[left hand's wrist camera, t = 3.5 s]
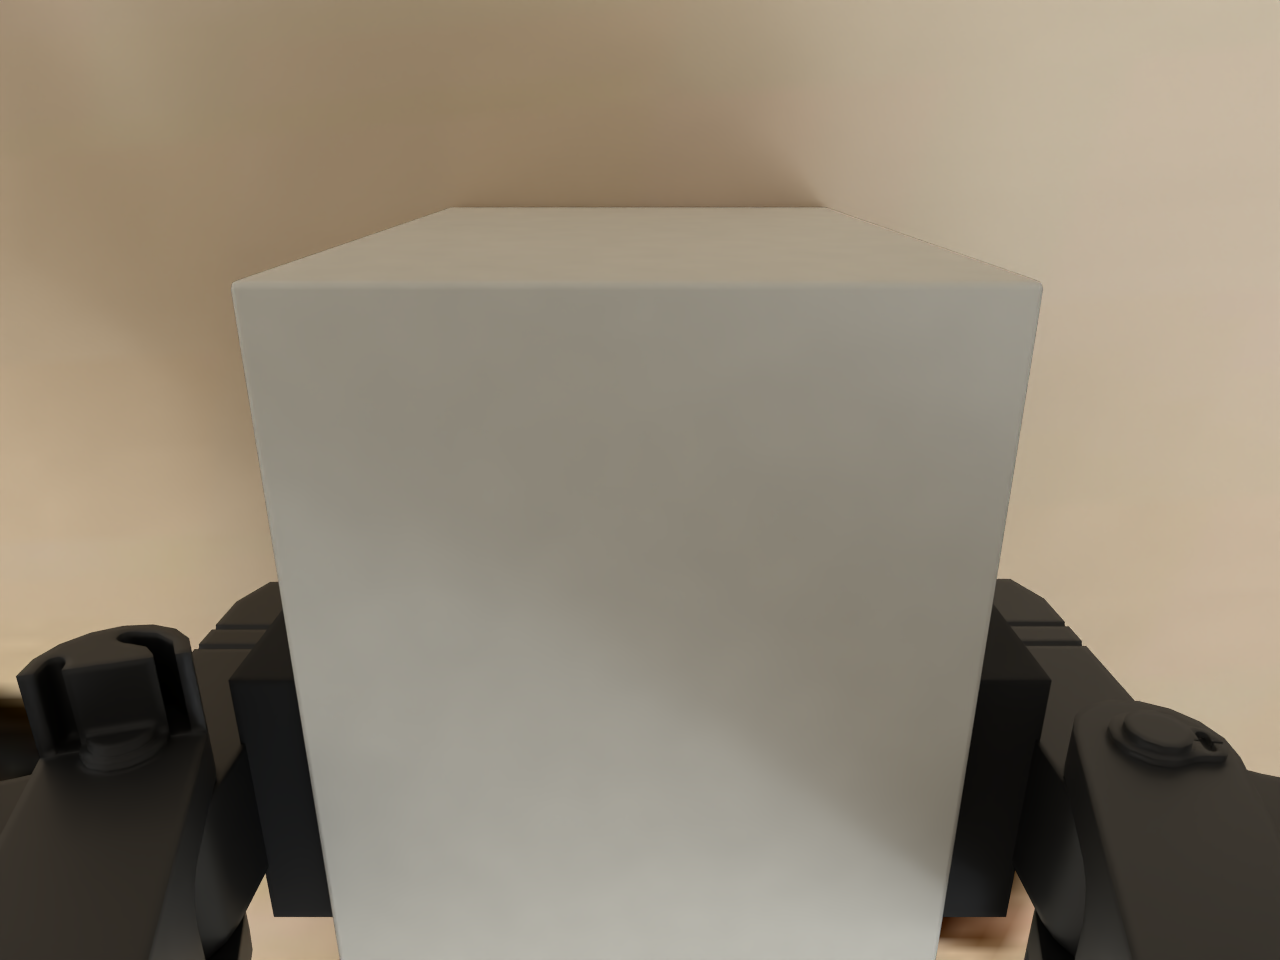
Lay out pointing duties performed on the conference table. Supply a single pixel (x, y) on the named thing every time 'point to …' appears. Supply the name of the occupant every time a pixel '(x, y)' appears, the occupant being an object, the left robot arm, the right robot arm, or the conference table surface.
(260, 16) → the conference table surface
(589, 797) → the beam
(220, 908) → the left robot arm
